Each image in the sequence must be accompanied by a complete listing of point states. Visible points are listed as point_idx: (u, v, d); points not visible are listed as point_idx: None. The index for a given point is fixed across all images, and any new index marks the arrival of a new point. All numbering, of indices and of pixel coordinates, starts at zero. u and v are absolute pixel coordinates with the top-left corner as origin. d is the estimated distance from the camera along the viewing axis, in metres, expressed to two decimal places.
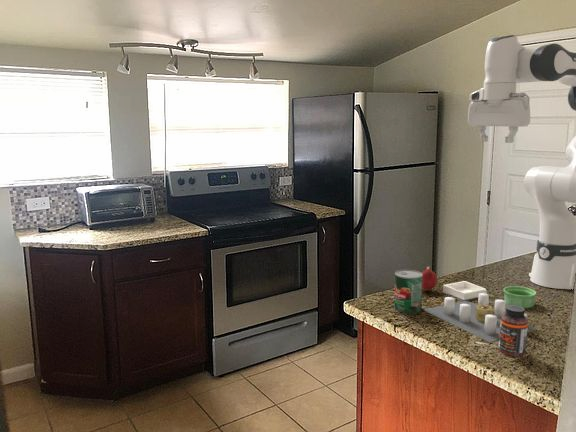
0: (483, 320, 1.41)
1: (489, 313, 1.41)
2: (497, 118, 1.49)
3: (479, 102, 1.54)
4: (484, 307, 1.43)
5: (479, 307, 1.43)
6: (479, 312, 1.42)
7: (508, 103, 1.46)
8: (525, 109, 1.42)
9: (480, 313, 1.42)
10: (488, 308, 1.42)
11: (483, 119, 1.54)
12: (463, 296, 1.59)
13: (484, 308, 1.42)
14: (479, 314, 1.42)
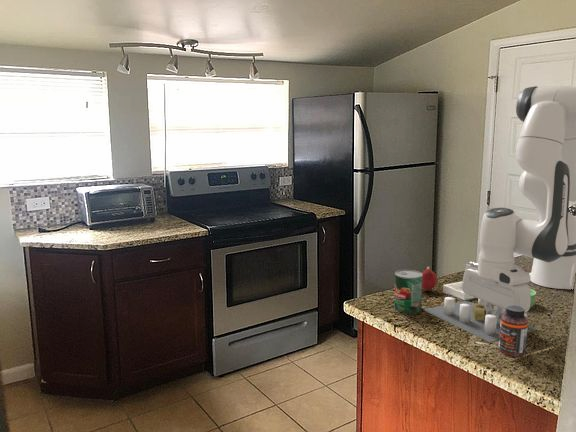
0: (481, 319, 1.42)
1: None
2: None
3: None
4: (482, 306, 1.43)
5: (477, 306, 1.43)
6: (477, 311, 1.42)
7: None
8: None
9: (478, 312, 1.42)
10: None
11: None
12: (463, 296, 1.59)
13: (482, 307, 1.43)
14: (477, 313, 1.42)
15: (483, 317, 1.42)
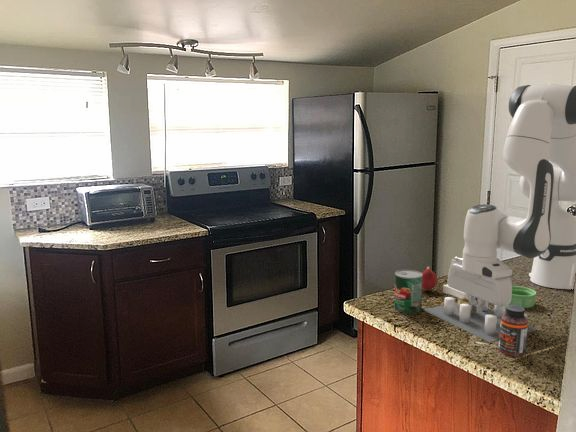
0: None
1: None
2: None
3: None
4: (466, 300, 1.48)
5: (461, 300, 1.48)
6: None
7: None
8: None
9: None
10: None
11: None
12: (463, 296, 1.59)
13: (466, 301, 1.47)
14: None
15: None
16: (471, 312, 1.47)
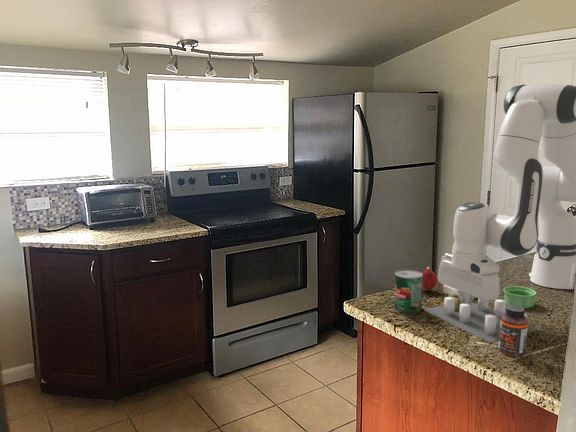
0: (455, 308, 1.50)
1: None
2: None
3: None
4: (456, 296, 1.52)
5: (451, 296, 1.52)
6: None
7: None
8: None
9: None
10: None
11: None
12: None
13: (456, 297, 1.51)
14: None
15: (457, 306, 1.50)
16: None
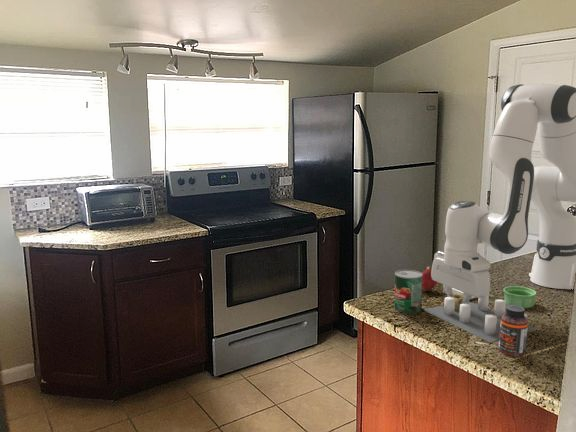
0: (456, 308, 1.50)
1: None
2: None
3: None
4: (457, 296, 1.51)
5: (452, 296, 1.51)
6: None
7: None
8: None
9: None
10: (461, 297, 1.51)
11: None
12: None
13: (457, 297, 1.51)
14: None
15: (458, 306, 1.50)
16: None
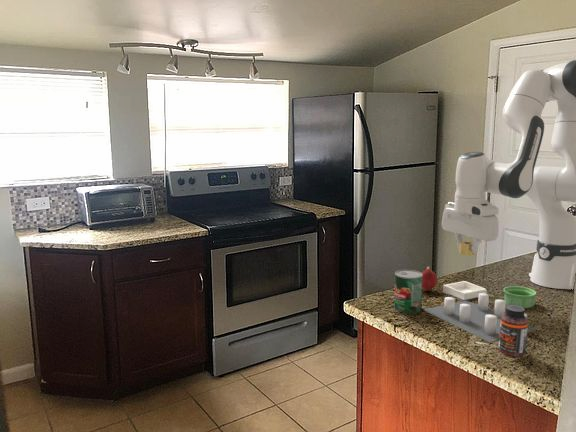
0: (466, 253, 1.60)
1: None
2: None
3: None
4: (467, 242, 1.61)
5: (462, 242, 1.61)
6: (462, 247, 1.60)
7: None
8: None
9: (463, 247, 1.60)
10: (470, 243, 1.60)
11: None
12: (463, 296, 1.59)
13: (466, 243, 1.60)
14: (462, 248, 1.60)
15: (468, 251, 1.59)
16: (471, 253, 1.60)
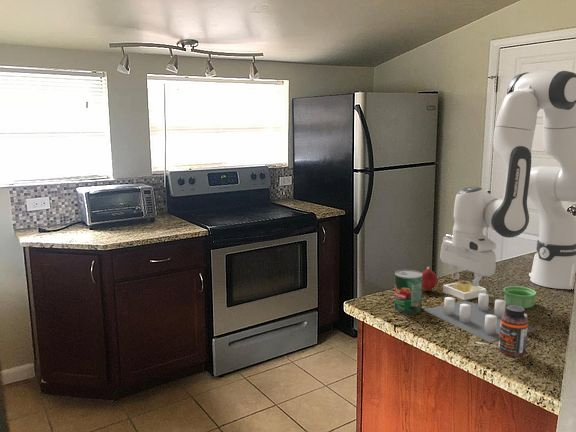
0: None
1: (468, 287, 1.62)
2: None
3: None
4: (464, 282, 1.63)
5: (460, 282, 1.64)
6: (460, 286, 1.63)
7: None
8: None
9: (460, 287, 1.63)
10: (467, 283, 1.63)
11: None
12: (463, 296, 1.59)
13: (464, 283, 1.63)
14: (460, 288, 1.63)
15: None
16: None
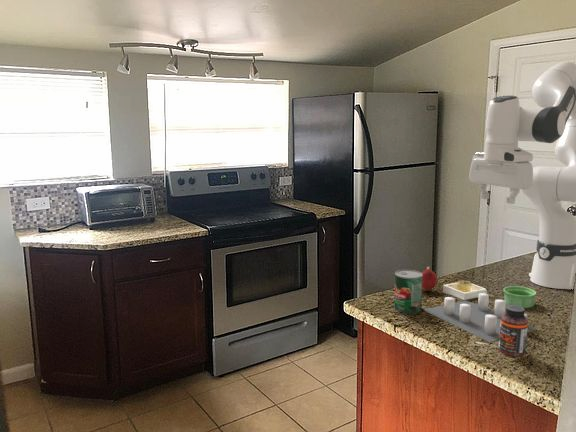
0: None
1: (468, 287, 1.62)
2: None
3: None
4: (464, 282, 1.63)
5: (460, 282, 1.64)
6: (460, 286, 1.63)
7: None
8: None
9: (460, 287, 1.63)
10: (467, 283, 1.63)
11: None
12: (463, 296, 1.59)
13: (464, 283, 1.63)
14: (460, 288, 1.63)
15: None
16: None
